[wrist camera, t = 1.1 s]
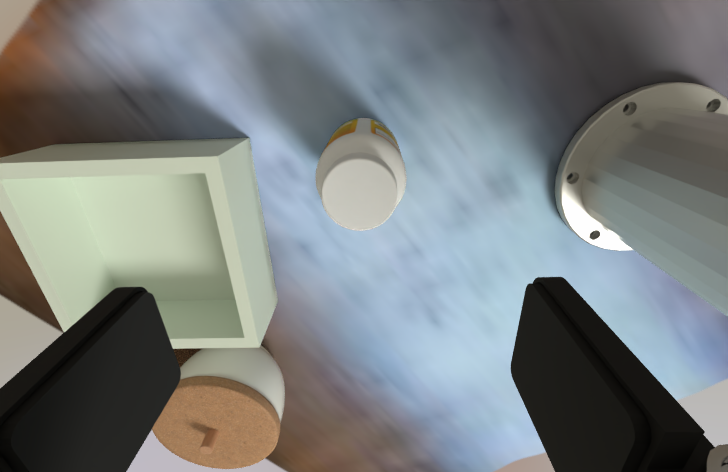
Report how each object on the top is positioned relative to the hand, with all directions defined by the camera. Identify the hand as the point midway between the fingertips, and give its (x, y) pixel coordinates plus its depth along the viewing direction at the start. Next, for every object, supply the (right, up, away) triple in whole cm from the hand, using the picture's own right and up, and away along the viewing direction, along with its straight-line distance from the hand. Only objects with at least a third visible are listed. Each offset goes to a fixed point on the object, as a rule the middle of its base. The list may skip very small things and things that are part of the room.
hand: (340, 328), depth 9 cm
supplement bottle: (+1, +9, +18) cm, 20 cm away
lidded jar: (-12, -10, +28) cm, 32 cm away
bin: (-15, +3, +21) cm, 26 cm away
